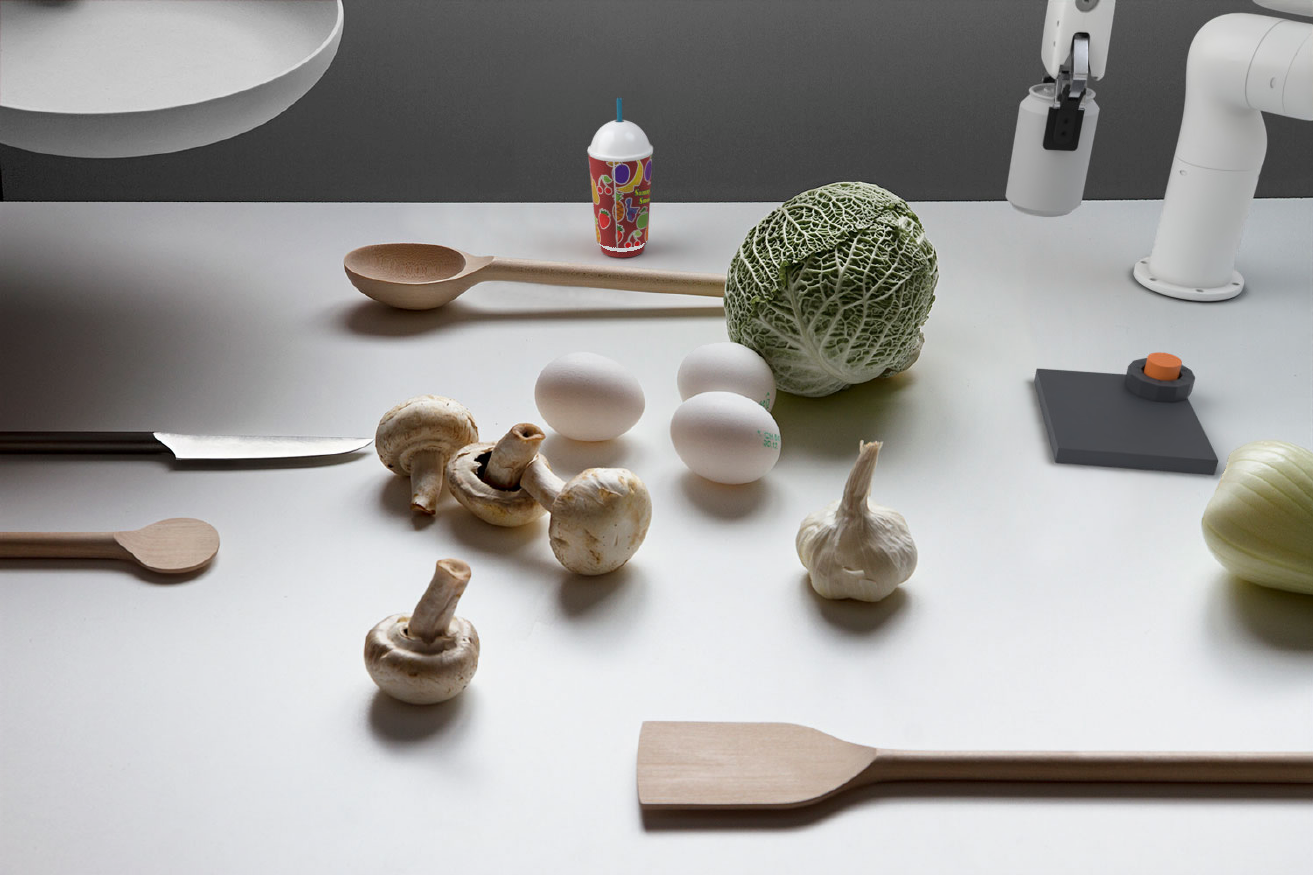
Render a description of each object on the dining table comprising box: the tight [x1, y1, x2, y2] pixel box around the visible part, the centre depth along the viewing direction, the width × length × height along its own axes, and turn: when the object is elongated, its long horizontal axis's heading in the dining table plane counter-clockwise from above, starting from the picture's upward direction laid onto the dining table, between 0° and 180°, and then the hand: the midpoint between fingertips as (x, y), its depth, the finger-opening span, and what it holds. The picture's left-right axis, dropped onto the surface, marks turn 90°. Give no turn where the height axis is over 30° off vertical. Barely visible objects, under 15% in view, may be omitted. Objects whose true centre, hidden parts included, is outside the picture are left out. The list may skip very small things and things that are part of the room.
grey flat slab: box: [1033, 357, 1219, 476], centre depth 110 cm, size 17×14×4 cm
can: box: [1005, 83, 1101, 218], centre depth 113 cm, size 8×8×12 cm
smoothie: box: [586, 97, 654, 259], centre depth 146 cm, size 8×8×20 cm
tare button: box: [1144, 351, 1183, 381], centre depth 113 cm, size 3×3×2 cm
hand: (1054, 136), depth 113 cm, fingers closed on can, 7 cm apart
